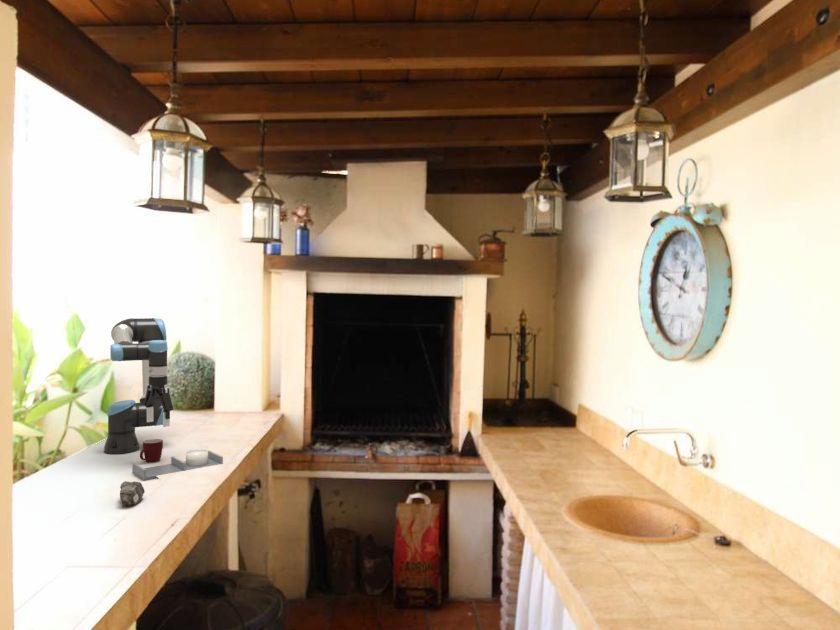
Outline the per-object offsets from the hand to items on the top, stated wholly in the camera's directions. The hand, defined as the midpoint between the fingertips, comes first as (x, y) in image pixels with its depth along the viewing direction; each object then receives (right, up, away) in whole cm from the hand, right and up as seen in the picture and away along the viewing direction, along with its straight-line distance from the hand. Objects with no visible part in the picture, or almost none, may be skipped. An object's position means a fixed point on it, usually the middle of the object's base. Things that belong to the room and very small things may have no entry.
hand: (158, 424), depth 270 cm
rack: (+12, -18, -7) cm, 23 cm away
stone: (+11, -20, -48) cm, 53 cm away
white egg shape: (+18, -17, -2) cm, 25 cm away
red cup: (-3, -18, +1) cm, 18 cm away
